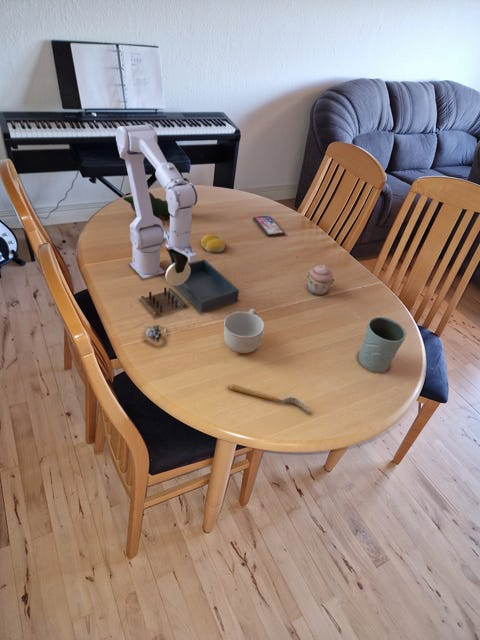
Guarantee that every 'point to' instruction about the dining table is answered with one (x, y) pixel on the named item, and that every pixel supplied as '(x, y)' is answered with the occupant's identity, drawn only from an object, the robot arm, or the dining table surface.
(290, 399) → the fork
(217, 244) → the bread roll
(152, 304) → the plate rack
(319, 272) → the cupcake
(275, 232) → the smartphone
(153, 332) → the oyster shell
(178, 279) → the plate
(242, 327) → the teacup
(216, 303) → the dark blue tray
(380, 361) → the green cylindrical pot
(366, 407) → the dining table surface
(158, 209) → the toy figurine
